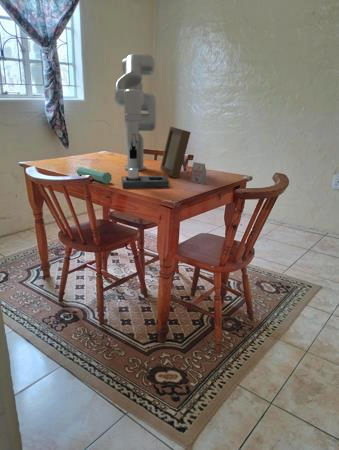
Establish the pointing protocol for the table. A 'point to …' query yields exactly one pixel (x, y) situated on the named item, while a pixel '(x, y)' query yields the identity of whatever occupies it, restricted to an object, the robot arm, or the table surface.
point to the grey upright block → (198, 173)
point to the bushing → (133, 174)
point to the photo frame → (175, 152)
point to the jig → (146, 182)
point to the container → (95, 174)
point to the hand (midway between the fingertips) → (133, 158)
